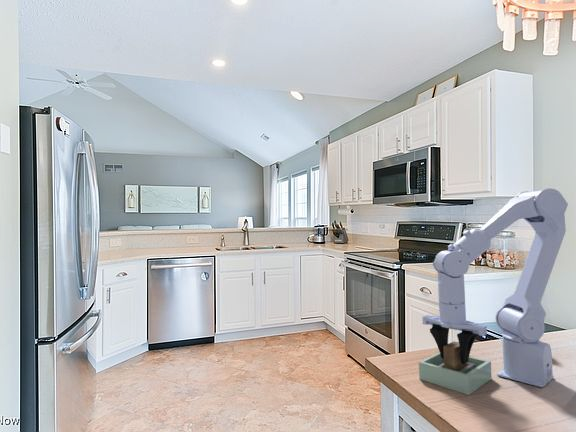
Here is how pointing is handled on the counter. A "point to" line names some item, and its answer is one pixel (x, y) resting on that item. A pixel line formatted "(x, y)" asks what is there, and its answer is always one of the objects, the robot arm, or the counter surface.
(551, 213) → the robot arm
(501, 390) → the counter surface
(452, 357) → the wood grain brick
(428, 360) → the sage green storage tray
